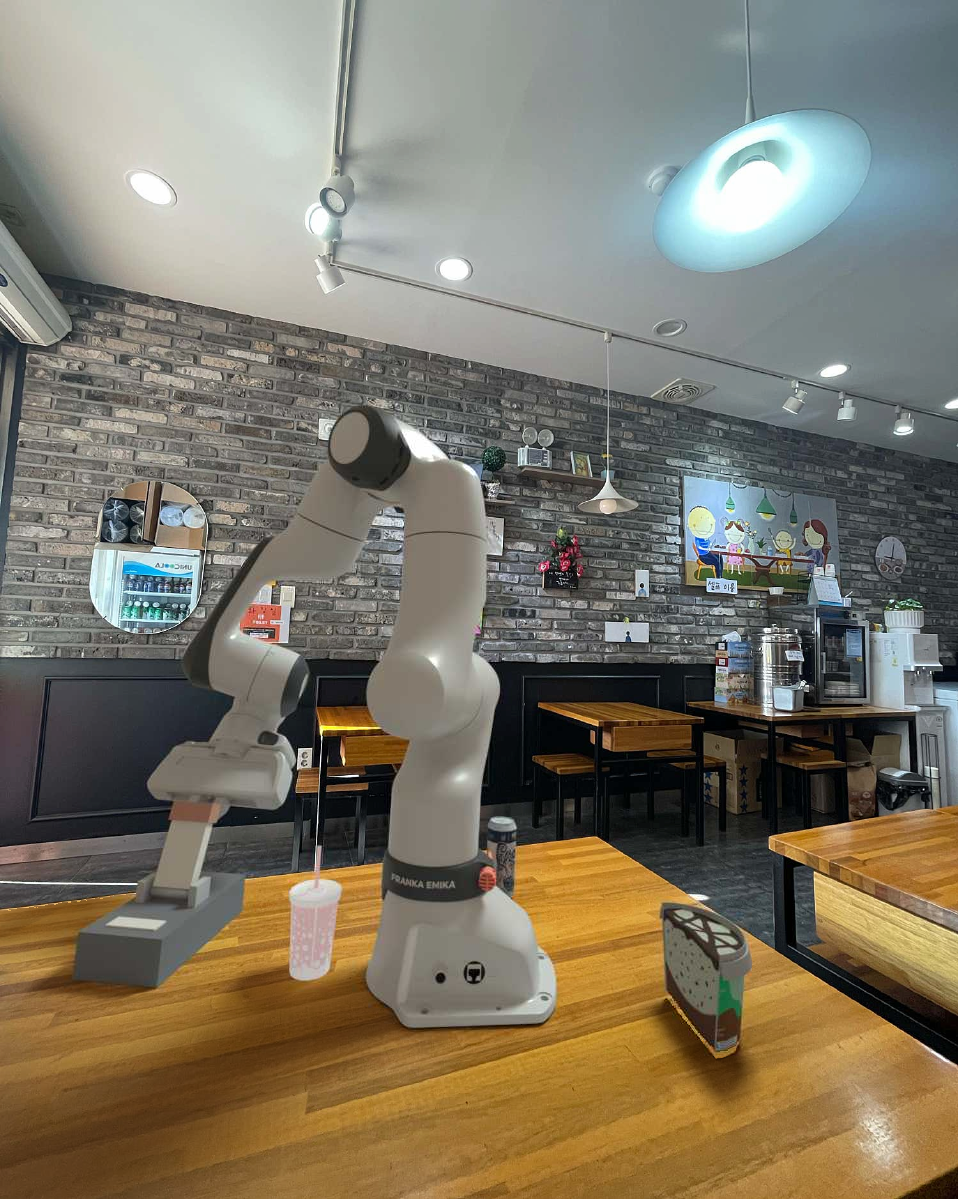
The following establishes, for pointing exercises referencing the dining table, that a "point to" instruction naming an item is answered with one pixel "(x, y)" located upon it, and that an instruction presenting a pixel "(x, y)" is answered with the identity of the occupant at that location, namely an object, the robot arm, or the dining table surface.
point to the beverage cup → (312, 925)
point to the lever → (184, 848)
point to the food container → (705, 970)
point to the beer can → (503, 851)
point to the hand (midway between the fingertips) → (194, 830)
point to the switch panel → (156, 931)
